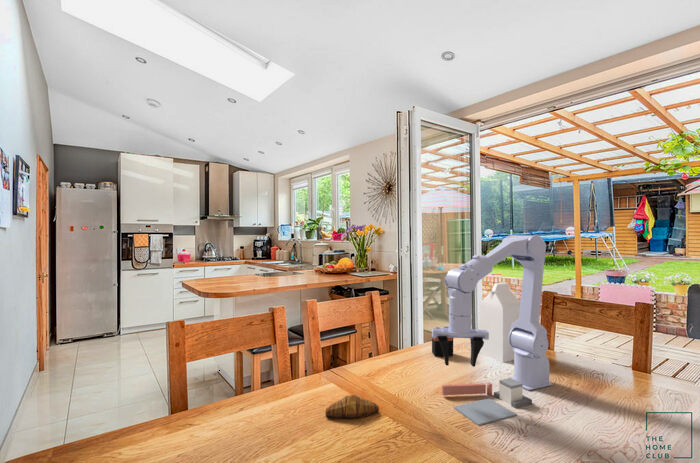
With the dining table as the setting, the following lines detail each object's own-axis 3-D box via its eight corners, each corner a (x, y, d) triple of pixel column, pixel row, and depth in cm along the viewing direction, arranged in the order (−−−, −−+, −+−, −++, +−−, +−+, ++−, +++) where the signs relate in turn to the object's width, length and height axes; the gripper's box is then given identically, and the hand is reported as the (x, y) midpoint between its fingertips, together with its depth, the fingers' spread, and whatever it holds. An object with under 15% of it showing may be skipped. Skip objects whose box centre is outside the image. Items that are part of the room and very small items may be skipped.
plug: (510, 395, 100) (510, 377, 100) (522, 402, 96) (522, 383, 96) (499, 398, 98) (499, 380, 98) (511, 405, 95) (511, 386, 95)
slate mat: (489, 399, 98) (489, 398, 98) (516, 415, 89) (516, 414, 89) (453, 407, 93) (453, 406, 93) (478, 425, 85) (478, 424, 85)
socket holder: (510, 392, 102) (510, 388, 102) (531, 403, 96) (531, 399, 95) (493, 395, 100) (493, 392, 100) (514, 407, 93) (514, 404, 93)
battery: (453, 356, 131) (453, 328, 130) (435, 357, 130) (435, 329, 130) (449, 352, 135) (449, 325, 135) (431, 352, 134) (431, 325, 134)
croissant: (375, 406, 94) (375, 387, 94) (382, 420, 88) (382, 399, 88) (323, 410, 92) (323, 391, 92) (326, 424, 86) (326, 403, 85)
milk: (502, 362, 125) (503, 286, 125) (476, 352, 135) (477, 282, 135) (525, 356, 131) (526, 284, 130) (499, 347, 141) (499, 280, 141)
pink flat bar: (493, 395, 100) (493, 384, 100) (443, 397, 99) (443, 386, 99) (490, 393, 101) (490, 382, 101) (441, 395, 100) (441, 384, 100)
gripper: (484, 311, 101) (483, 360, 101) (430, 310, 102) (430, 358, 102) (491, 317, 94) (490, 370, 94) (433, 316, 95) (433, 367, 95)
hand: (459, 364), depth 98 cm, fingers open, 6 cm apart
